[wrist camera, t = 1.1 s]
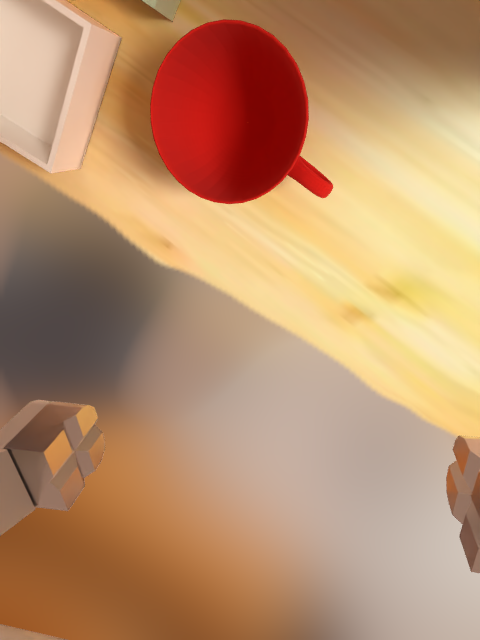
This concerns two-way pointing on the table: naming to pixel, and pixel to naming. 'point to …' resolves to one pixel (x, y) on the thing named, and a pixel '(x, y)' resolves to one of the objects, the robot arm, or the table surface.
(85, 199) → the table surface
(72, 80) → the tub
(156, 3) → the sage cube
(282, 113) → the ceramic cup
